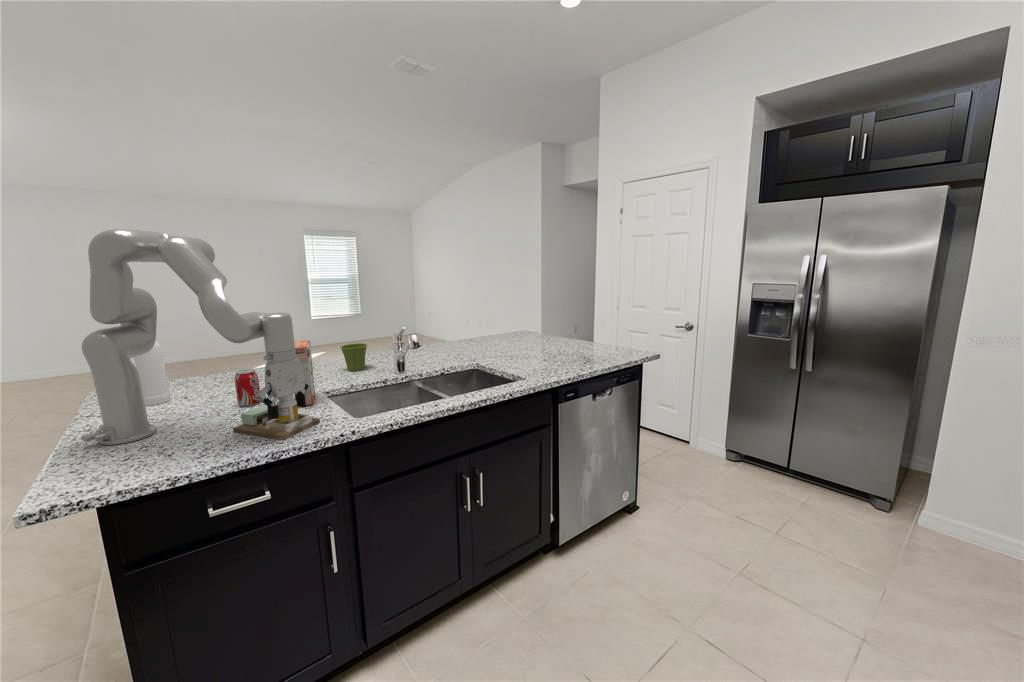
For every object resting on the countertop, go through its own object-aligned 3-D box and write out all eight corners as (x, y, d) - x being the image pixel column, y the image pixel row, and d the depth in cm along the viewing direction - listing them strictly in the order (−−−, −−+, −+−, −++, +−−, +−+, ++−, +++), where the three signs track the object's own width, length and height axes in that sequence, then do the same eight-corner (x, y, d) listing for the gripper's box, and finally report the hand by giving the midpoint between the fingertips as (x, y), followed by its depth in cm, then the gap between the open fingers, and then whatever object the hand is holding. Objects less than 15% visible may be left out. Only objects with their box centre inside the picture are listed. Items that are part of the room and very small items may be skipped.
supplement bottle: (294, 420, 130) (290, 390, 128) (302, 424, 127) (298, 393, 125) (275, 425, 126) (271, 394, 124) (283, 430, 123) (279, 398, 121)
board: (281, 440, 119) (280, 429, 118) (233, 431, 125) (231, 421, 125) (320, 422, 131) (318, 412, 131) (274, 415, 138) (273, 406, 137)
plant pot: (363, 365, 204) (361, 342, 202) (373, 369, 195) (371, 345, 193) (338, 369, 197) (336, 345, 194) (347, 374, 188) (345, 349, 185)
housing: (254, 425, 126) (252, 415, 125) (242, 423, 128) (240, 413, 127) (277, 416, 133) (276, 406, 133) (265, 414, 135) (264, 405, 134)
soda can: (250, 408, 146) (245, 374, 144) (233, 406, 147) (228, 373, 145) (266, 401, 153) (261, 368, 150) (249, 400, 154) (244, 368, 152)
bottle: (136, 405, 151) (120, 321, 145) (159, 398, 158) (145, 318, 153) (154, 406, 149) (138, 321, 143) (176, 399, 157) (162, 318, 151)
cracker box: (314, 405, 147) (307, 346, 143) (295, 407, 145) (287, 347, 141) (316, 394, 160) (310, 339, 156) (298, 396, 158) (292, 340, 154)
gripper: (264, 363, 113) (272, 424, 116) (314, 350, 129) (320, 404, 132) (244, 361, 116) (252, 421, 119) (295, 349, 132) (301, 402, 135)
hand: (288, 412), depth 126 cm, fingers open, 9 cm apart
